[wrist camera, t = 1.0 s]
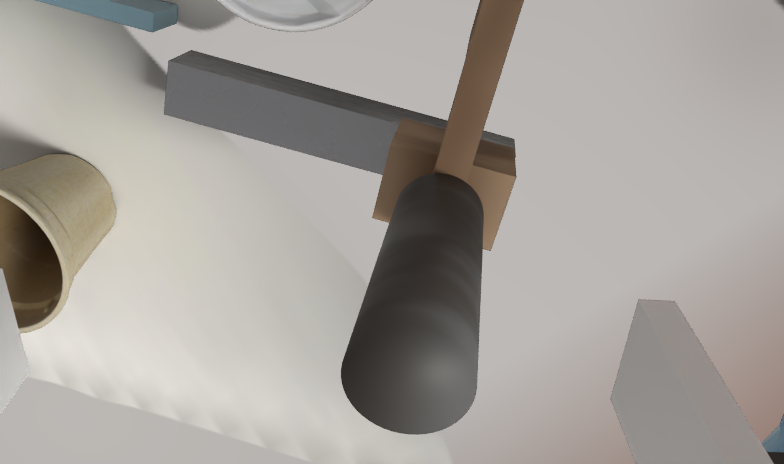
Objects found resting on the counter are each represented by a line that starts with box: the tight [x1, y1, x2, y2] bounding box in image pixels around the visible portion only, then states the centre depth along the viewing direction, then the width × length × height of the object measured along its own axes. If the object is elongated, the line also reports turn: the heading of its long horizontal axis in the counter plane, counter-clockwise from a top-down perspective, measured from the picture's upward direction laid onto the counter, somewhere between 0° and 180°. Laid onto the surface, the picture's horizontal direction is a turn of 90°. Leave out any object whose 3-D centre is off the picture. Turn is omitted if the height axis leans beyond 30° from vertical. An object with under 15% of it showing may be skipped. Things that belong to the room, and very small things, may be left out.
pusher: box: [341, 0, 524, 434], centre depth 27 cm, size 6×16×21 cm, turn 167°
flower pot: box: [0, 154, 116, 333], centre depth 40 cm, size 9×9×9 cm
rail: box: [164, 50, 516, 175], centre depth 38 cm, size 19×3×3 cm, turn 77°
